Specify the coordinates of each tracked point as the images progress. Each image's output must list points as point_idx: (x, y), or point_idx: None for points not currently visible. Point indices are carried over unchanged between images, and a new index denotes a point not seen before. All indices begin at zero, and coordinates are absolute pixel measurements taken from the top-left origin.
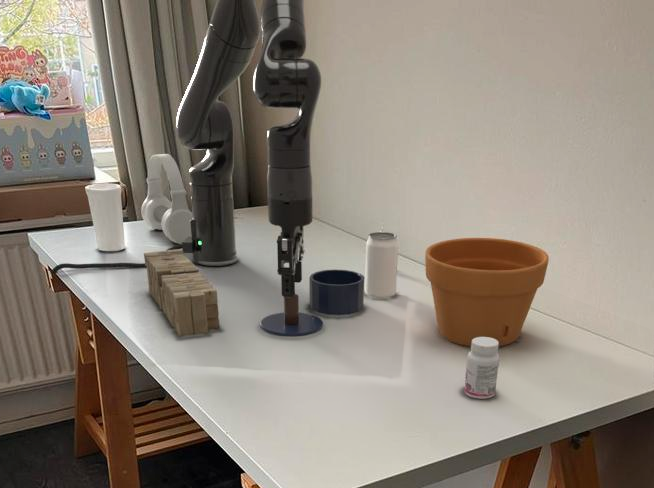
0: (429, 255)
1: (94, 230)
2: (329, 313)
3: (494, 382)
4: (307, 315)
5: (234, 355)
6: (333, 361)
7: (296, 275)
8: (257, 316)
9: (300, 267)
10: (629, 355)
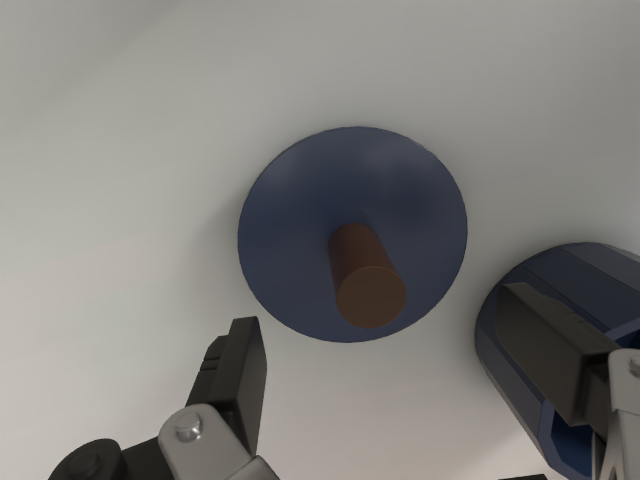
0: None
1: None
2: (481, 331)
3: None
4: (438, 278)
5: (22, 123)
6: (131, 407)
7: (518, 337)
8: (457, 70)
9: (544, 395)
10: None
